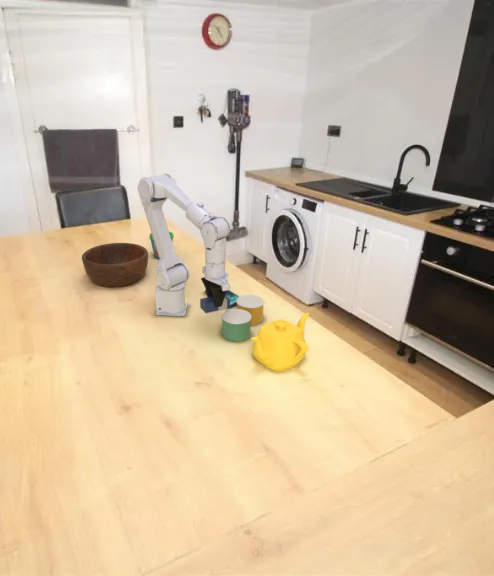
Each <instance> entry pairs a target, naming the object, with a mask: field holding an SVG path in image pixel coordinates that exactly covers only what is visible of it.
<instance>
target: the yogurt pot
mask: <svg viewBox="0 0 494 576" xmlns="http://www.w3.org/2000/svg"><path fill="white" fill-rule="evenodd" d="M250 323H251V314H250V313H249V312H248V311H245V310H242V309H237V308H228V309H225V310H223V312H222V314H221V335H222V338H224V339H225V340H227V341H229V342H237V343H238V342H244V341H246V340H248V339H249V338H250V336H251V325H250Z"/></svg>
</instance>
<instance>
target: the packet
mask: <svg viewBox="0 0 494 576" xmlns="http://www.w3.org/2000/svg"><path fill="white" fill-rule="evenodd" d="M199 308H200V309H201V310H202V311H203V312H204V313H205V314H209V313H213V312H214V313H215V312H218V311H219V312H220V311H225V310H229V309H231V307H230V299H229V298H228V297H227V296H226V295H225V298H224V301H223V304H222V306H221V307H215V305H214V299H213V296H211V297H203V298H200V299H199Z"/></svg>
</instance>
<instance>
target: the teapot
mask: <svg viewBox="0 0 494 576" xmlns="http://www.w3.org/2000/svg"><path fill="white" fill-rule="evenodd" d="M309 316H310V313H309V312H306V313H304V314H303V315H301V317H300V318H299V320H298V321H297V324H295V323H293V322H290V321H288V320H286V319H281V318H280V319H275V320H271V321H270V322H267V323H265V324H264V325H262V326H261V327H260V328H259V330H258V332H257V334H256V336H254V337H253V336H252V337H251V338H250V340H251V341H253V344H252V349H251V351H252V355H253V356H254V358H255V359H256V361H257V362H259V363H260V364H262V365H263V366H264V367H266V368H268V369H270V370H271V371H275V372H281V371H282V372H283V371H286V370H289V369H291V368H293V367H295V366H297V365H298V364H299V363H300V362H301V361H302V360H303V359H304V358H305V356H306V353H307V352H308V350H309V346H308V344H307V343H306V339H305V328H306V327H305V325H306V321H307V319H308V318H309Z"/></svg>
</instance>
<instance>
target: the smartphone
mask: <svg viewBox="0 0 494 576" xmlns="http://www.w3.org/2000/svg"><path fill="white" fill-rule="evenodd" d="M204 293H205V294H206V295H207V293H206V289H205V290H204ZM226 296H227V297H228V298H229V299H230V308H232V307H235V306H236V307H237V302H236V300H237V298H238V297H240V296H239V295H237V294H236V293H234V292H232V291H231V290H228V291H227V293H226Z"/></svg>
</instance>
